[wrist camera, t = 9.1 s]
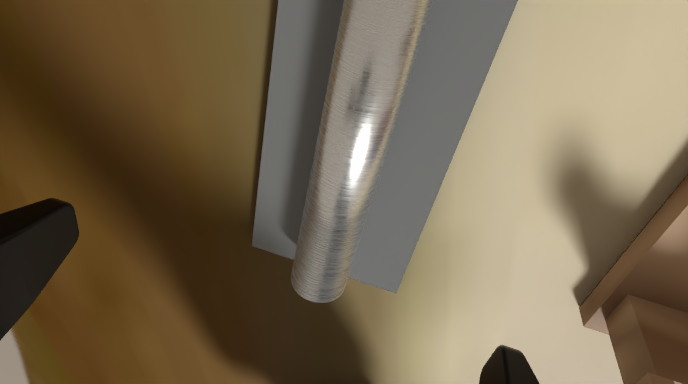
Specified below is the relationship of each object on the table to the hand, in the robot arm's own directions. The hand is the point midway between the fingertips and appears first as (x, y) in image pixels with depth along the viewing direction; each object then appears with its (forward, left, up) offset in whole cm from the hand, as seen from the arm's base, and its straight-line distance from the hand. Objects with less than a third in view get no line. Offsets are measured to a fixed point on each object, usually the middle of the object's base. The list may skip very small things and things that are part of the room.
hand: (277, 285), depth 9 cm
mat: (0, 0, -9) cm, 9 cm away
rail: (0, 0, -9) cm, 9 cm away
